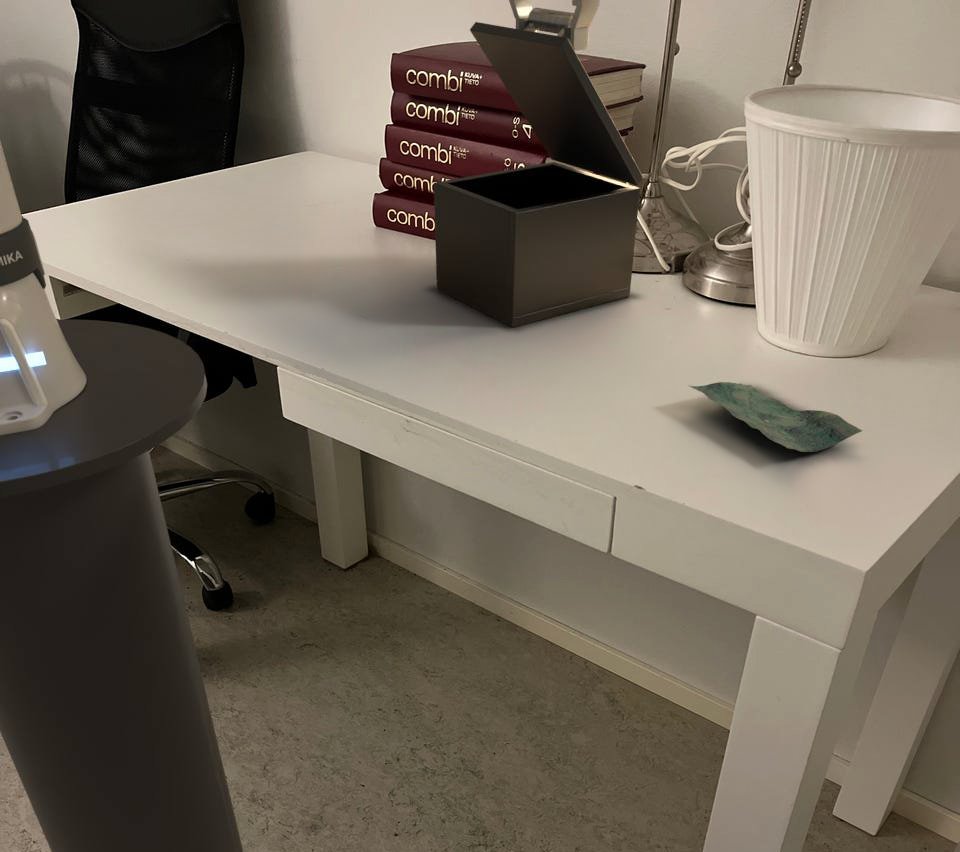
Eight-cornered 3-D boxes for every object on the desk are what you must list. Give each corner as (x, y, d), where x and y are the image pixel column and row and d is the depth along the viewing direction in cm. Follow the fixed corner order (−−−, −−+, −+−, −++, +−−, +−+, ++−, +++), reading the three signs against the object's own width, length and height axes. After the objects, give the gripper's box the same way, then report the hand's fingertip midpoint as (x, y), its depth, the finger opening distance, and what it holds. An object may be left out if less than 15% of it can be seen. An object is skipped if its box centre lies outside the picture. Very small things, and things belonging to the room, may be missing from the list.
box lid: (560, 46, 85) (598, -4, 84) (469, 29, 94) (503, -15, 93) (638, 186, 98) (670, 143, 97) (551, 159, 107) (581, 120, 106)
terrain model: (682, 404, 83) (685, 383, 82) (750, 389, 86) (755, 369, 85) (785, 467, 74) (791, 445, 73) (857, 449, 78) (864, 427, 76)
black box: (512, 327, 98) (515, 213, 91) (436, 289, 107) (433, 182, 100) (629, 296, 105) (640, 187, 98) (549, 263, 114) (553, 161, 107)
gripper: (458, -141, 88) (462, 36, 97) (606, -143, 75) (595, 61, 84) (513, -142, 91) (512, 30, 100) (664, -145, 78) (648, 53, 87)
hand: (551, 44), depth 92 cm, fingers closed on box lid, 6 cm apart
